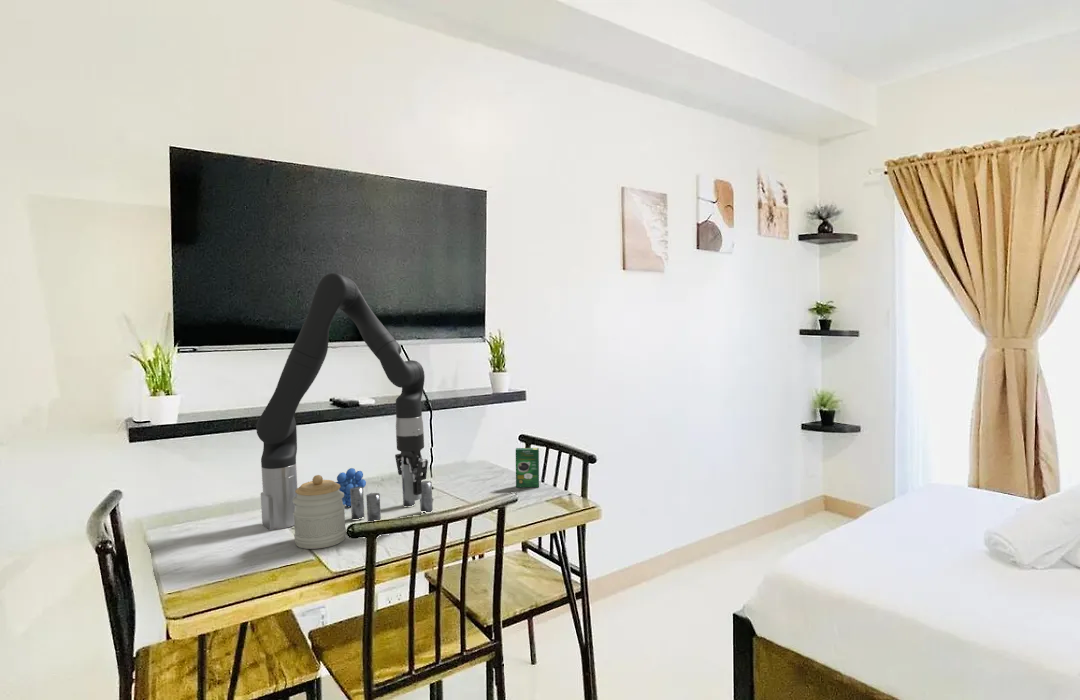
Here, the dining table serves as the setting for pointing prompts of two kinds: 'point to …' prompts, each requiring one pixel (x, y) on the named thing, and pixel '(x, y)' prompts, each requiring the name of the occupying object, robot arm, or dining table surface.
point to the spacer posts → (374, 501)
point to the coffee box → (527, 467)
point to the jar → (319, 514)
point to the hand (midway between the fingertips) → (412, 492)
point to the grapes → (350, 483)
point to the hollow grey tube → (409, 484)
